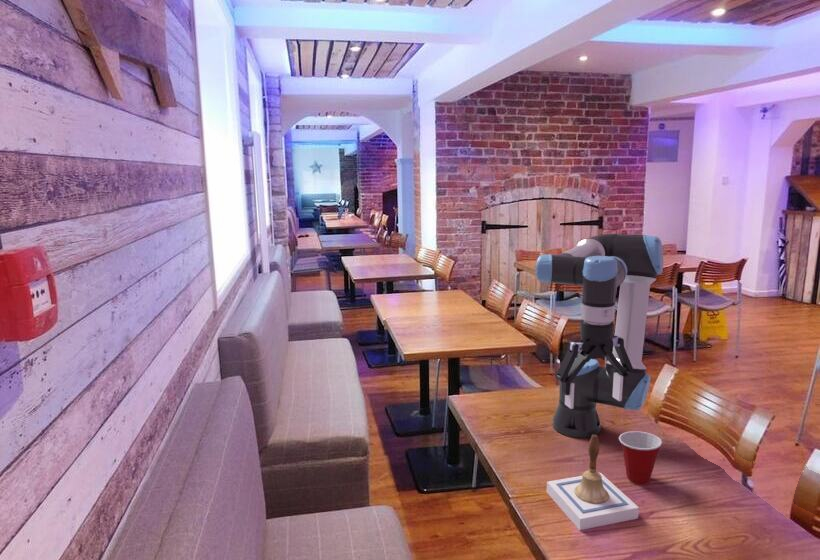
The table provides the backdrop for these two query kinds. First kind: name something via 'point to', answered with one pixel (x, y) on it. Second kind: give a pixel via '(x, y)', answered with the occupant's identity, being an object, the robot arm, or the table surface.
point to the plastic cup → (639, 455)
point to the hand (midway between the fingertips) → (593, 402)
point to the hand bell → (592, 478)
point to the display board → (591, 504)
